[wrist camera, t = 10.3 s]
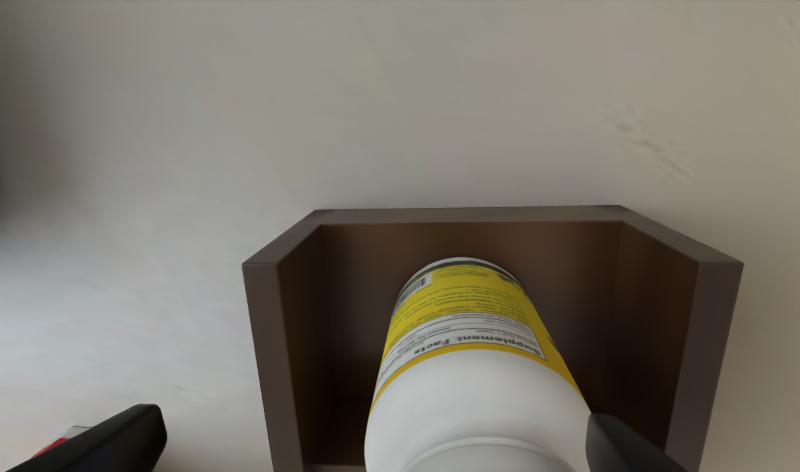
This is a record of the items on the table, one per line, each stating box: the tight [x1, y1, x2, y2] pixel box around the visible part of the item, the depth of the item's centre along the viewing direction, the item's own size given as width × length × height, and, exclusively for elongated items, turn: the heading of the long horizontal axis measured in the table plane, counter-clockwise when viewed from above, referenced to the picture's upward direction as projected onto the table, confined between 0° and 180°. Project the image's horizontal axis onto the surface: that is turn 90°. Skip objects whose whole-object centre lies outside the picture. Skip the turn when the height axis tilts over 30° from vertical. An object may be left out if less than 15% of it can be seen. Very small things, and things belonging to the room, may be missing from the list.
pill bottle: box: [365, 257, 591, 472], centre depth 13 cm, size 6×6×11 cm
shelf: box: [242, 205, 744, 472], centre depth 18 cm, size 15×16×8 cm
